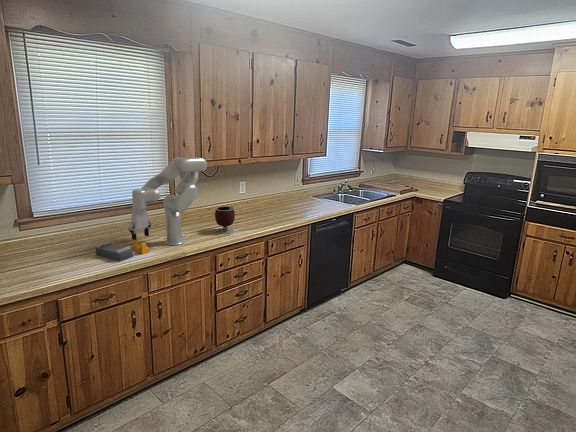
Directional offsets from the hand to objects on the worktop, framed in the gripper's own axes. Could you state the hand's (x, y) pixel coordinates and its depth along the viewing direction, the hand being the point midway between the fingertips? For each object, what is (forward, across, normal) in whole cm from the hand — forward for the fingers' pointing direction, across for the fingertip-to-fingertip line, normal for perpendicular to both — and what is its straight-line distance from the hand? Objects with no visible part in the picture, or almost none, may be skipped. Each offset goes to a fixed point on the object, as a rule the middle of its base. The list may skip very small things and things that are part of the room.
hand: (140, 237), depth 236 cm
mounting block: (+9, +14, -7) cm, 18 cm away
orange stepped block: (+9, 0, 0) cm, 9 cm away
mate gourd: (+6, -60, +20) cm, 64 cm away
